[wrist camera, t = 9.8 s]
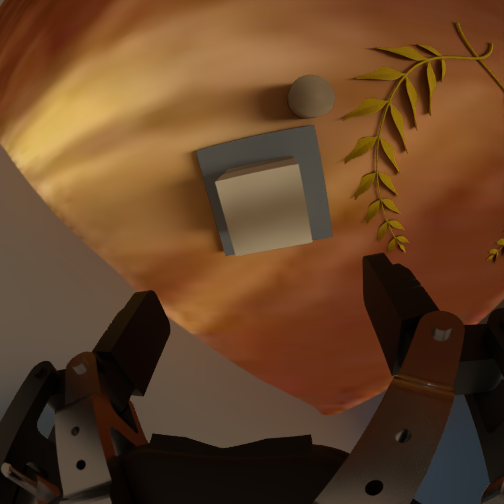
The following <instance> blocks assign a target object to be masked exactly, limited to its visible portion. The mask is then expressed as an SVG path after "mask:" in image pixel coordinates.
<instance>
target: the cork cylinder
mask: <svg viewBox="0 0 504 504" xmlns="http://www.w3.org/2000/svg"><path fill="white" fill-rule="evenodd" d="M334 100H335V95H334V91H333V88H332V87H331V85H330V84H329V83H328V82H327V81H326V80H325V79H323V78H322V77H319V76H316V75H305V76H302V77H300V78H298V79H297V80H296V81H295V82H294V83H293V84H292V86H291V89H290V91H289V93H288V96H287V102H288V106H289V108H290V109H291V111H292V112H293V113H294V114H295V115H297V116H299V117H302V118H314V117H318V116H321V115H324V114H326V113H327V112H328V111H329V110H330V109H331V108H332V106H333V104H334Z"/></svg>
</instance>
